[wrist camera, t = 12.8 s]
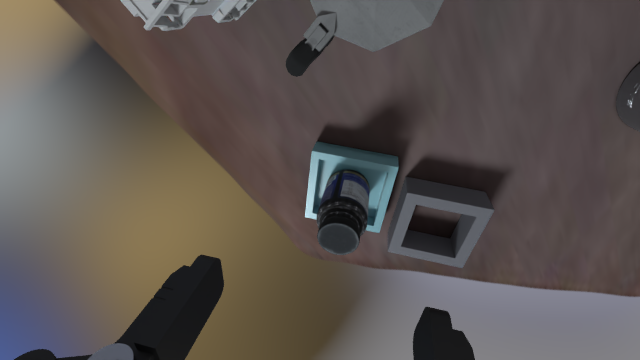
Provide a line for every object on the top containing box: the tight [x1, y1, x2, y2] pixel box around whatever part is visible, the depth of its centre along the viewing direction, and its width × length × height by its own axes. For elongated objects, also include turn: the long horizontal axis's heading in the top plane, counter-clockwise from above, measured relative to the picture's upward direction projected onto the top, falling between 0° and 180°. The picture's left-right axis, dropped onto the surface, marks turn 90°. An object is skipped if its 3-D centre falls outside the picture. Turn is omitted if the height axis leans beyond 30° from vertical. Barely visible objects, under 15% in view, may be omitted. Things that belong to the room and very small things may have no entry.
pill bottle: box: [316, 169, 370, 255], centre depth 37 cm, size 6×6×11 cm
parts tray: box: [305, 141, 399, 233], centre depth 41 cm, size 11×11×3 cm
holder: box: [388, 177, 494, 268], centre depth 41 cm, size 10×10×4 cm
